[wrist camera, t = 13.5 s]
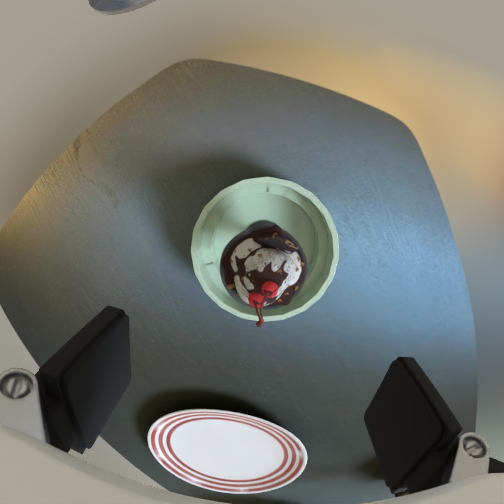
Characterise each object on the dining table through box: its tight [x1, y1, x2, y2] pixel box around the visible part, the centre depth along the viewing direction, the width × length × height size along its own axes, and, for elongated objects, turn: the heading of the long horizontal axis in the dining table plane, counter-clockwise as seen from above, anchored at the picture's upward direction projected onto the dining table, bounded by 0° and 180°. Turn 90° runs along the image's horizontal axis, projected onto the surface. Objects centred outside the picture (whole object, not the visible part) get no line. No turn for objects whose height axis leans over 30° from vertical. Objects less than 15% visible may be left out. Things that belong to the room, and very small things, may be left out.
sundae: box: [220, 221, 308, 327], centre depth 24 cm, size 7×7×15 cm
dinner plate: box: [147, 409, 307, 494], centre depth 39 cm, size 28×27×3 cm
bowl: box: [191, 177, 339, 322], centre depth 29 cm, size 14×14×5 cm
